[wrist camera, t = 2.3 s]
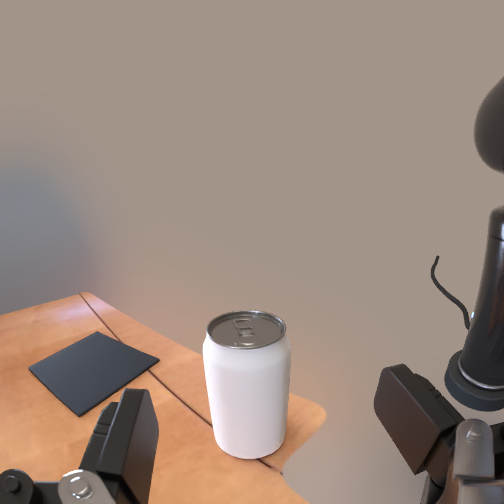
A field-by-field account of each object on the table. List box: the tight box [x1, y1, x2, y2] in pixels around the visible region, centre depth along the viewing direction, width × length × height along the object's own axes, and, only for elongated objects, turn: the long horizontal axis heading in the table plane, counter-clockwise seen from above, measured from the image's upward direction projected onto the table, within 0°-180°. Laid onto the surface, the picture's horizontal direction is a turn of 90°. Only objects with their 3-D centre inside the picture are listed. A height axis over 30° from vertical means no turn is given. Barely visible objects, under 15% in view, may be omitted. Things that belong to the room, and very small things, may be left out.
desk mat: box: [28, 331, 160, 417], centre depth 32 cm, size 14×14×1 cm
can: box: [203, 310, 291, 459], centre depth 22 cm, size 6×6×12 cm
